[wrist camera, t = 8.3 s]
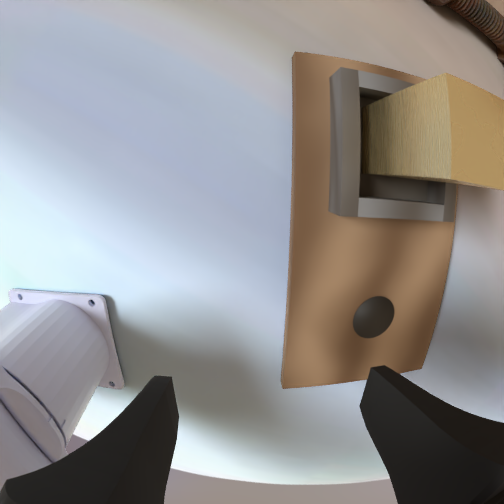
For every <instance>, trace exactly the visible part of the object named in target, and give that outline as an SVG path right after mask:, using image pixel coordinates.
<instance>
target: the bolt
mask: <svg viewBox="0 0 504 504" xmlns="http://www.w3.org/2000/svg"><path fill="white" fill-rule="evenodd" d="M426 1H427V2H429V3H431V4H433V5H437V6H442V5H447V6H448V7H450V8H451V9H452V10H454V11H455V12H457V13H458V14H460V15H461V16H463V18H465V19H466V20H468V21H469V22H470V23H471V24H473V25H474V26H475V27H477V28H478V29H479V30H480V31H481V32H483V33H484V34H485V35H486V36H487V37H488V38H490V39H491V41H492V42H493V43H494V44H495V45H496V46H497V56H498V59H499V60H500V61H501V62H502V63H503V64H504V17H503V16H502V15H501V14H500V13H499V12H498V11H497V10H496V9H495V8H494V7H492V5H490V4H489V3H488V2H487V1H485V0H426Z"/></svg>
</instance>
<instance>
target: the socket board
mask: <svg viewBox="0 0 504 504" xmlns="http://www.w3.org/2000/svg"><path fill="white" fill-rule="evenodd" d="M425 80H426V79H423V78H420V77H417V76H414V75H410V74H407V73H404V72H400V71H396V70H393V69H389V68H385V67H381V66H377V65H373V64H368V63H364V62H359V61H354V60H349V59H344V58H338V57H332V56H325V55H319V54H311V53H303V52H295V53H294V55H293V57H292V94H293V130H292V190H291V222H290V247H289V268H288V287H287V303H286V319H285V333H284V347H283V360H282V372H281V384H282V388H283V389H286V388H299V387H311V386H321V385H330V384H338V383H346V382H353V381H360V380H366V379H368V376H369V372H370V368H371V367H376V366H382V365H385V366H387V367H389V368H391V369H392V370H394V371H395V372H397V373H398V374H399V373H404V372H409V371H413V370H418V369H422V366H423V363H424V360H425V357H426V354H427V351H428V348H429V345H430V341H431V338H432V335H433V331H434V328H435V324H436V320H437V317H438V313H439V309H440V305H441V301H442V296H443V292H444V287H445V282H446V277H447V272H448V267H449V261H450V255H451V249H452V242H453V234H454V226H455V217H456V206H457V192H458V184H454V183H445V182H436V181H426V180H416V179H408V178H400V177H391V176H382V175H373V174H362V108H363V107H365V106H367V105H369V104H371V103H374V102H376V101H378V100H380V99H383V98H385V97H387V96H389V95H392V94H394V93H396V92H399V91H401V90H403V89H406V88H408V87H411V86H413V85H415V84H418V83H420V82H423V81H425Z"/></svg>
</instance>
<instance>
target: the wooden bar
mask: <svg viewBox="0 0 504 504" xmlns="http://www.w3.org/2000/svg"><path fill="white" fill-rule="evenodd" d="M362 174H373V175H382V176H391V177H400V178H408V179H416V180H426V181H436V182H445V183H454V184H462V185H470V186H477V187H484V188H491V189H497V190H503V191H504V100H503V99H501V98H499V97H497V96H495V95H493V94H491V93H490V92H488V91H486V90H484V89H482V88H479V87H477V86H475V85H473V84H471V83H469V82H467V81H464V80H462V79H460V78H457V77H455V76H453V75H450V74H448V73H444V74H441V75H438V76H436V77H433V78H430V79H428V80H425V81H423V82H420V83H418V84H415V85H413V86H411V87H408V88H406V89H403V90H401V91H399V92H396V93H394V94H392V95H389V96H387V97H385V98H383V99H380V100H378V101H376V102H374V103H371V104H369V105H367V106H365V107H363V108H362Z"/></svg>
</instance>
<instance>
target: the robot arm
mask: <svg viewBox="0 0 504 504" xmlns="http://www.w3.org/2000/svg"><path fill="white" fill-rule="evenodd" d="M8 294H9V299H10V303H9V304H8V305H6V306H5V307H4V308H2V309H1V310H0V504H164V496H165V490H166V484H167V480H168V475H169V471H170V467H171V462H172V458H173V454H174V449H175V445H176V440H177V431H178V421H179V414H178V409H177V404H176V399H175V394H174V388H173V383H172V377H166V376H154V377H153V378H152V379H151V380H150V381H149V382H148V384H147V385H146V386H145V387H144V388H143V390H142V391H141V392H140V393H139V394H138V395H137V396H136V398H135V399H134V400H133V401H132V402H131V403H130V404H129V405H128V406H127V407H126V408H125V409H124V410H123V412H122V413H121V414H120V415H119V416H118V417H116V418H115V419H114V420H113V421H112V422H111V423H110V424H109V425H108V426H107V427H106V428H105V429H104V430H102V431H101V432H100V433H99V434H98V435H96V436H95V437H94V438H93V439H91V440H90V441H89V442H87V443H86V444H85V445H83V446H82V447H80V448H78V449H77V450H76V451H74V452H72V453H70V454H69V455H68V454H67V452H66V450H65V448H66V446H67V444H68V442H69V440H70V438H71V436H72V434H73V432H74V430H75V428H76V426H77V424H78V422H79V420H80V418H81V416H82V414H83V413H84V411H85V409H86V407H87V405H88V403H89V401H90V399H91V398H92V396H93V394H94V392H95V390H96V388H97V387H98V386H101V387H107V388H114V389H122V388H123V387H124V385H125V383H124V379H123V376H122V372H121V368H120V364H119V360H118V356H117V352H116V348H115V344H114V339H113V335H112V330H111V325H110V320H109V315H108V310H107V304H106V300H105V298H104V297H103V296H101V295H95V294H77V293H62V292H48V291H35V290H23V289H11V290H10V291H9V293H8ZM21 295H22V297H21ZM91 300H93V301H94V302H95V304H92V303H91ZM112 382H113V383H112ZM360 409H361V412H362V416H363V419H364V422H365V425H366V428H367V430H368V432H369V434H370V436H371V438H372V440H373V442H374V444H375V446H376V448H377V450H378V452H379V454H380V456H381V458H382V461H383V463H384V465H385V467H386V469H387V471H388V474H389V476H390V479H391V482H392V485H393V488H394V491H395V495H396V499H397V502H398V504H504V423H502V422H497V421H493V420H489V419H486V418H482V417H479V416H476V415H473V414H471V413H468V412H466V411H463V410H461V409H459V408H456V407H454V406H452V405H450V404H448V403H446V402H444V401H442V400H441V399H439V398H437V397H435V396H433V395H432V394H430V393H428V392H427V391H425V390H423V389H422V388H420V387H419V386H417V385H415V384H414V383H412V382H411V381H409V380H408V379H406V378H405V377H403V376H402V375H400V374H398V373H397V372H395V371H394V370H392V369H391V368H389V367H387V366H385V365H382V366H376V367H371V368H370V372H369V376H368V379H367V383H366V386H365V390H364V393H363V396H362V400H361V403H360Z"/></svg>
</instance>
